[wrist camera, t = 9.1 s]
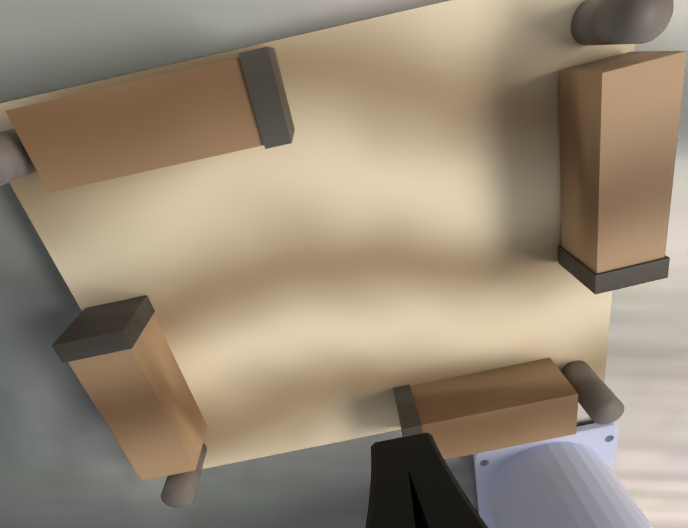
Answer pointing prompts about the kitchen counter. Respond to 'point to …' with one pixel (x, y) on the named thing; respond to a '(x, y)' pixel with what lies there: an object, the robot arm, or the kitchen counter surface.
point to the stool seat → (327, 236)
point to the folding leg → (618, 166)
